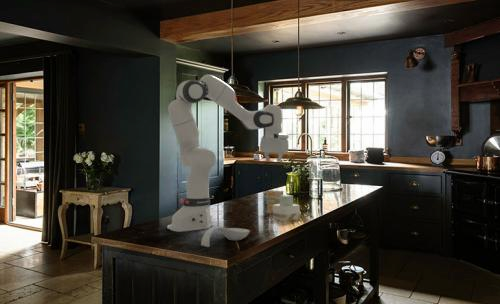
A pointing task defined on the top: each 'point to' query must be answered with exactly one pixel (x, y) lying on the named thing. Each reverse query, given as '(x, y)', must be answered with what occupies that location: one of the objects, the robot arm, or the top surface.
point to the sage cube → (286, 200)
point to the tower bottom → (286, 217)
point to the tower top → (286, 209)
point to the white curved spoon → (228, 233)
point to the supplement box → (273, 199)
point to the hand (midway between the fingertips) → (273, 161)
